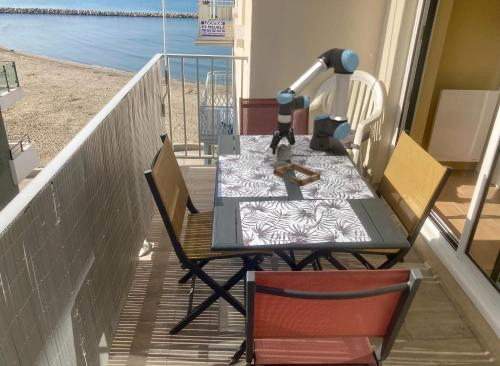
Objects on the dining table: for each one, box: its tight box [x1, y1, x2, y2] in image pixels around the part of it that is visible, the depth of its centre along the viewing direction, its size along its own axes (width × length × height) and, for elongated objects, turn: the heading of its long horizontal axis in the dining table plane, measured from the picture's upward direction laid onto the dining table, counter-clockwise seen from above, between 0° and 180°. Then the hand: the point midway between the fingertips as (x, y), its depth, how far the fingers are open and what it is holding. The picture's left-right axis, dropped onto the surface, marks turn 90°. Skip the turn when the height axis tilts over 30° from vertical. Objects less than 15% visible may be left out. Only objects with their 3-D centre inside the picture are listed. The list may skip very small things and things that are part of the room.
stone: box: [276, 143, 293, 162], centre depth 245 cm, size 10×10×10 cm
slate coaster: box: [268, 160, 291, 169], centre depth 248 cm, size 11×11×1 cm
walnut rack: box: [272, 162, 322, 187], centre depth 233 cm, size 16×21×3 cm
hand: (282, 157), depth 246 cm, fingers closed on stone, 11 cm apart
